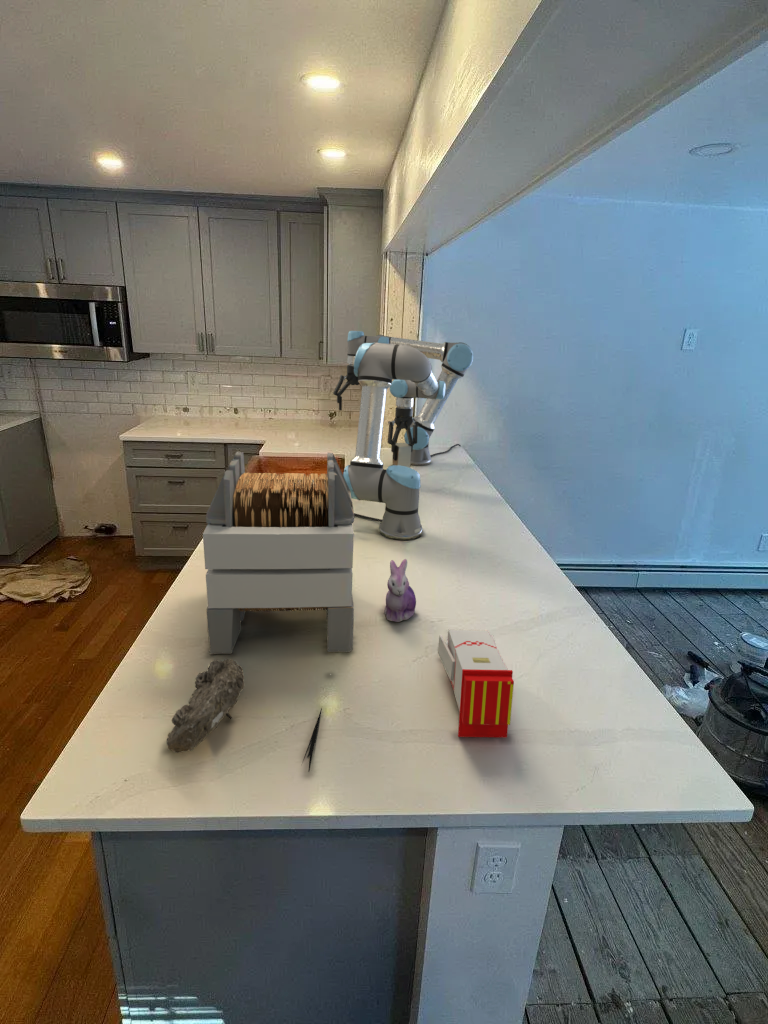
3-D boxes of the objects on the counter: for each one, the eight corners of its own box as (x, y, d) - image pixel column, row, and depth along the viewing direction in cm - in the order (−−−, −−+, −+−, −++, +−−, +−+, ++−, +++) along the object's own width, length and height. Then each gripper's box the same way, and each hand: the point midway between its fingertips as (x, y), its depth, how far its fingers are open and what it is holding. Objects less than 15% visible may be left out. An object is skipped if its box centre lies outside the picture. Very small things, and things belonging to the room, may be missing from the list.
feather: (331, 679, 122) (336, 673, 122) (307, 777, 96) (313, 769, 95) (324, 675, 122) (329, 669, 121) (298, 772, 95) (304, 764, 95)
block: (397, 471, 250) (398, 446, 246) (392, 467, 257) (393, 442, 253) (409, 471, 252) (411, 446, 248) (404, 466, 259) (405, 442, 255)
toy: (488, 613, 130) (523, 677, 101) (484, 667, 133) (517, 744, 104) (435, 612, 130) (455, 676, 101) (432, 666, 133) (451, 743, 103)
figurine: (392, 627, 141) (395, 572, 136) (374, 608, 149) (376, 556, 144) (425, 619, 145) (429, 566, 140) (405, 601, 154) (408, 550, 149)
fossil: (192, 660, 117) (244, 628, 112) (224, 691, 120) (276, 661, 115) (142, 746, 98) (202, 712, 93) (182, 779, 101) (242, 748, 96)
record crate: (229, 585, 158) (221, 442, 144) (346, 584, 161) (350, 444, 148) (206, 656, 126) (193, 481, 112) (353, 652, 130) (358, 483, 116)
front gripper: (386, 408, 239) (384, 462, 247) (427, 408, 245) (424, 460, 252) (381, 406, 246) (378, 458, 253) (421, 405, 251) (418, 456, 259)
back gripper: (331, 365, 261) (330, 411, 269) (382, 366, 269) (380, 410, 276) (327, 363, 268) (327, 408, 275) (377, 364, 276) (376, 408, 283)
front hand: (401, 459), depth 253 cm, fingers closed on block, 6 cm apart
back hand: (353, 409), depth 276 cm, fingers open, 13 cm apart
